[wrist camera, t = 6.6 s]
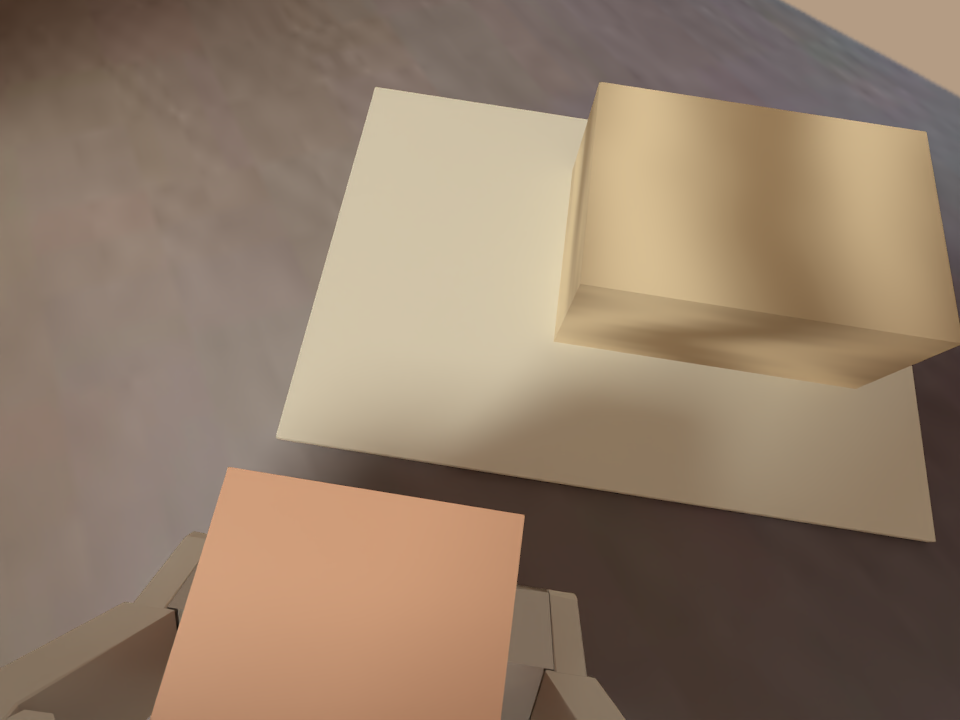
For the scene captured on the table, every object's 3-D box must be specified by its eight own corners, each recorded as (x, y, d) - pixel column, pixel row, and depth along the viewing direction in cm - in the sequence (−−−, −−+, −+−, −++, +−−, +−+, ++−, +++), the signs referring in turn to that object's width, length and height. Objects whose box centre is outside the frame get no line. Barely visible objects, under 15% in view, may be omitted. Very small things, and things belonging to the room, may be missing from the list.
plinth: (553, 341, 18) (580, 283, 14) (572, 169, 20) (599, 81, 17) (855, 388, 18) (963, 343, 14) (838, 211, 20) (926, 131, 16)
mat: (278, 439, 17) (275, 437, 16) (376, 93, 22) (375, 87, 21) (927, 542, 17) (935, 541, 16) (878, 170, 21) (884, 165, 21)
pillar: (299, 679, 13) (113, 836, 6) (338, 512, 15) (228, 467, 7) (460, 705, 13) (480, 893, 6) (483, 536, 15) (524, 514, 7)
